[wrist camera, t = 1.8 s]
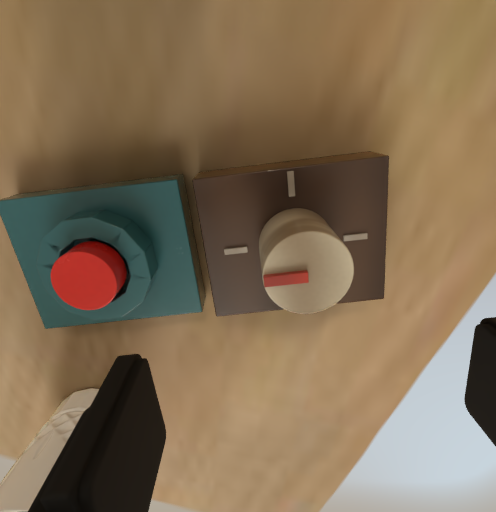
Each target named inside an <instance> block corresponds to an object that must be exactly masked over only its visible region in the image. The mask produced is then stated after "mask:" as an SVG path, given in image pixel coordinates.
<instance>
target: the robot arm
mask: <svg viewBox="0 0 496 512" xmlns="http://www.w3.org/2000/svg"><path fill="white" fill-rule="evenodd" d="M465 405H466V408H467V410H468V412H469V413H470V415H471V416H472V417H473V418H474V419H475V421H476V422H477V423H478V425H479V426H480V427H481V428H482V430H483V431H484V432H485V433H486V434H487V436H488V437H489V439H490V440H491V441H492V442H493V444H494V445H495V446H496V317H495V318H485V319H483V320H482V321H481V322H480V324H479V325H477V326H476V328H475V333H474V339H473V346H472V353H471V360H470V366H469V372H468V379H467V386H466V392H465ZM165 440H166V429H165V424H164V421H163V417H162V413H161V409H160V405H159V402H158V398H157V394H156V390H155V386H154V383H153V379H152V375H151V371H150V367H149V364H148V361H147V359H142V358H141V356H140V355H139V354H133V355H123V356H118V357H117V358H116V360H115V362H114V364H113V365H112V367H111V369H110V371H109V373H108V375H107V376H106V378H105V380H104V382H103V384H102V386H101V387H100V389H99V391H98V393H97V395H96V397H95V398H94V400H93V402H92V404H91V406H90V407H89V408H87V409H86V410H85V411H84V412H83V414H82V415H81V417H80V419H79V421H78V422H77V424H76V426H75V428H74V430H73V431H72V433H71V435H70V437H69V439H68V440H67V442H66V444H65V446H64V448H63V449H62V451H61V453H60V455H59V456H58V458H57V460H56V462H55V464H54V465H53V467H52V469H51V471H50V473H49V474H48V476H47V478H46V480H45V482H44V483H43V485H42V487H41V489H40V490H39V492H38V494H37V496H36V498H35V499H34V501H33V503H32V505H31V507H30V508H29V510H28V512H148V510H149V506H150V502H151V498H152V494H153V490H154V485H155V481H156V477H157V473H158V469H159V465H160V461H161V457H162V453H163V449H164V445H165Z"/></svg>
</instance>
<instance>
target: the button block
mask: <svg viewBox="0 0 496 512" xmlns="http://www.w3.org/2000/svg"><path fill="white" fill-rule="evenodd" d="M0 215H1V217H2V220H3V222H4V225H5V228H6V230H7V233H8V235H9V238H10V240H11V243H12V245H13V248H14V250H15V253H16V255H17V258H18V261H19V263H20V266H21V268H22V271H23V273H24V276H25V278H26V281H27V283H28V286H29V288H30V291H31V294H32V296H33V299H34V301H35V304H36V306H37V309H38V311H39V314H40V316H41V319H42V321H43V324H44V326H45V328H46V329H48V328H57V327H67V326H76V325H85V324H94V323H104V322H113V321H122V320H132V319H141V318H150V317H159V316H169V315H178V314H187V313H197V312H202V310H203V306H204V301H205V297H206V296H205V291H204V285H203V280H202V274H201V269H200V263H199V258H198V253H197V247H196V242H195V236H194V231H193V225H192V220H191V214H190V209H189V203H188V198H187V193H186V187H185V182H184V176H183V174H180V175H171V176H163V177H155V178H147V179H138V180H130V181H122V182H114V183H105V184H97V185H89V186H81V187H72V188H64V189H56V190H48V191H39V192H31V193H23V194H17V195H13V196H10V197H7V198H4V199H1V200H0ZM87 241H96V242H101V243H104V244H106V245H108V246H110V247H112V248H113V249H114V250H116V251H117V252H118V253H119V254H120V256H121V257H122V259H123V261H124V263H125V265H126V270H127V276H126V281H125V283H124V285H123V286H122V288H121V289H120V290H119V292H118V293H117V294H116V296H115V297H114V298H113V300H112V301H111V302H110V303H109V304H108V305H106V306H105V307H102V308H100V309H96V310H82V309H78V308H75V307H73V306H71V305H69V304H67V303H66V302H64V301H63V300H62V299H61V298H60V297H59V296H58V295H57V293H56V292H55V290H54V288H53V286H52V283H51V270H52V267H53V265H54V263H55V261H56V260H57V259H58V258H59V257H61V256H62V255H63V254H65V253H66V252H68V251H69V250H70V249H72V248H73V247H74V246H76V245H78V244H80V243H82V242H87Z"/></svg>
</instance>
